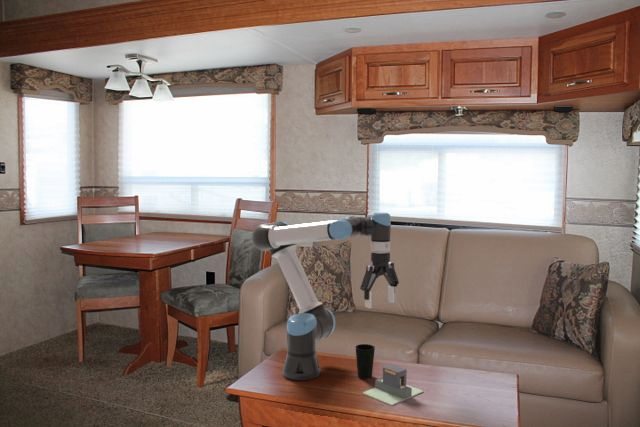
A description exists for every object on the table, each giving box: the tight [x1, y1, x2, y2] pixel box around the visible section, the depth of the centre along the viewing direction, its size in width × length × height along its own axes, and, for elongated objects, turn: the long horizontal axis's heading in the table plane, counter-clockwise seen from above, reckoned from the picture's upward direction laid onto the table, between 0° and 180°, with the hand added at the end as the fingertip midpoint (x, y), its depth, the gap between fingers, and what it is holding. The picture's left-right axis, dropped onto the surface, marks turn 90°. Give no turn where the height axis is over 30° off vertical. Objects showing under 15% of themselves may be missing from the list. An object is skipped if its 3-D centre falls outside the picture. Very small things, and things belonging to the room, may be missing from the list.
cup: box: [355, 343, 376, 380], centre depth 216 cm, size 8×8×12 cm
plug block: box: [382, 364, 408, 389], centre depth 199 cm, size 7×5×6 cm
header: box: [362, 376, 424, 406], centre depth 200 cm, size 14×18×6 cm
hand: (379, 305), depth 215 cm, fingers open, 13 cm apart
